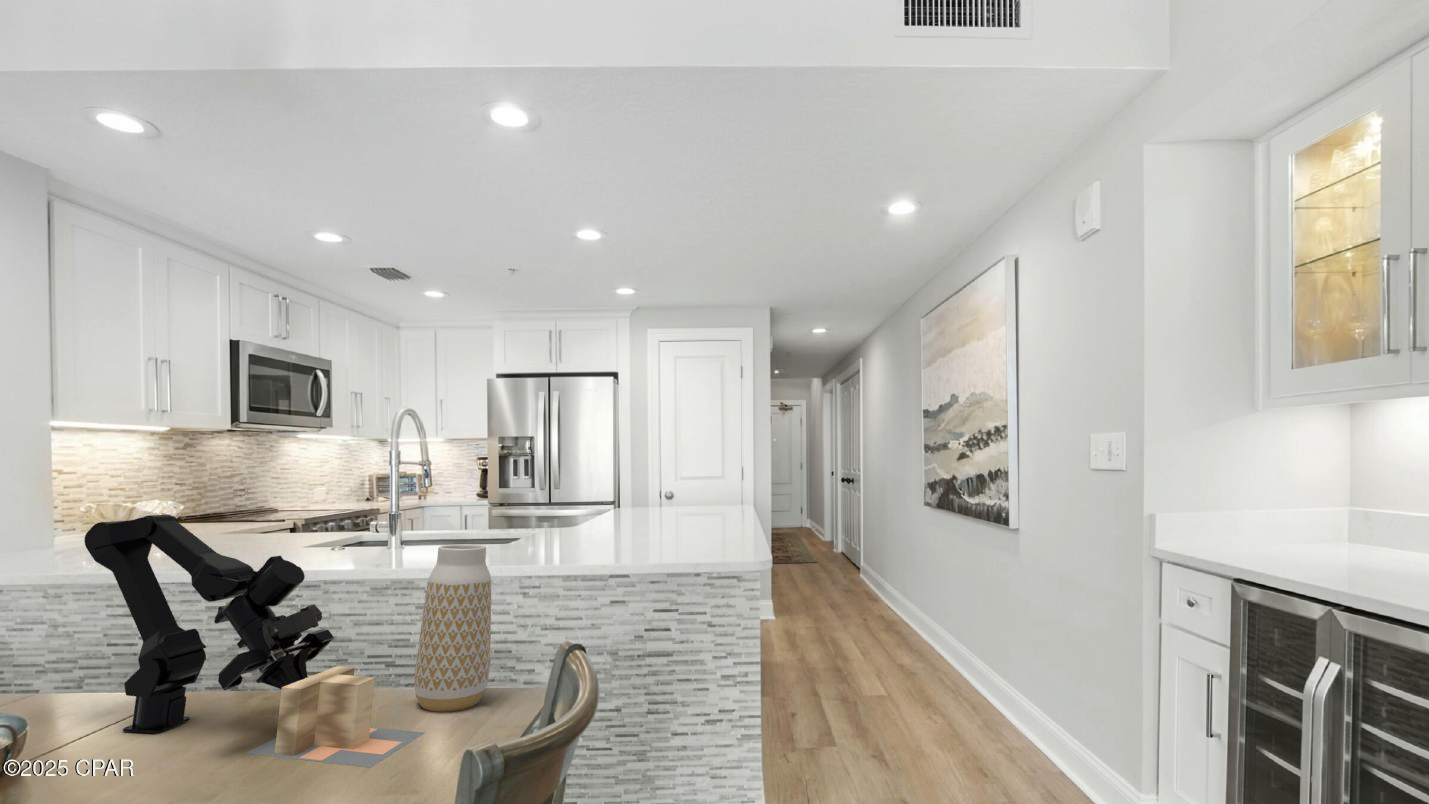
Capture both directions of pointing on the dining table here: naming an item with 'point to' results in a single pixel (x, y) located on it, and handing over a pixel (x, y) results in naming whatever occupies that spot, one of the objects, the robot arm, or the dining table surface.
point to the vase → (455, 631)
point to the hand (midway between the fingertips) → (307, 696)
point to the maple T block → (325, 712)
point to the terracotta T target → (367, 747)
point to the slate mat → (348, 756)
